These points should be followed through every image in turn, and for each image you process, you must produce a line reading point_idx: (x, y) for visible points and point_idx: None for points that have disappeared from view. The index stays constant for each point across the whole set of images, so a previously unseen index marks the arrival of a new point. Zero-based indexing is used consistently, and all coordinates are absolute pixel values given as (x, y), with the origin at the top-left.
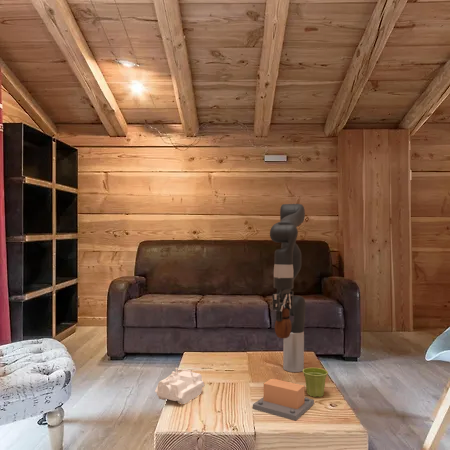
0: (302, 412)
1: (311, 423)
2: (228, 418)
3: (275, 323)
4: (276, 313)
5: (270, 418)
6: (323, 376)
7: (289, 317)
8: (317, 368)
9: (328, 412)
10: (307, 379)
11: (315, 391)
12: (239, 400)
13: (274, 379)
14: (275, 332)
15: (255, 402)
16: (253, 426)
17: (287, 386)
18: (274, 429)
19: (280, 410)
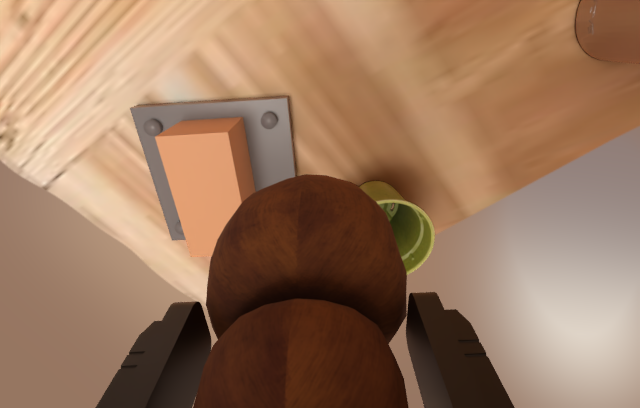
0: None
1: (194, 263)
2: (23, 84)
3: (220, 246)
4: (100, 403)
5: (133, 180)
6: None
7: (413, 351)
8: (431, 233)
9: None
10: None
11: None
12: (149, 21)
13: (225, 147)
14: (257, 191)
15: (148, 107)
16: (60, 170)
17: (201, 217)
18: (97, 216)
19: (166, 197)
